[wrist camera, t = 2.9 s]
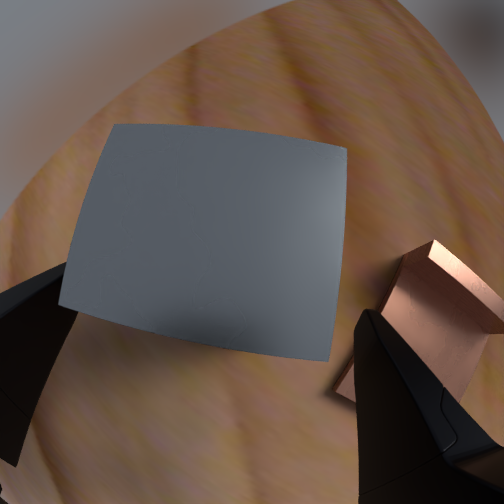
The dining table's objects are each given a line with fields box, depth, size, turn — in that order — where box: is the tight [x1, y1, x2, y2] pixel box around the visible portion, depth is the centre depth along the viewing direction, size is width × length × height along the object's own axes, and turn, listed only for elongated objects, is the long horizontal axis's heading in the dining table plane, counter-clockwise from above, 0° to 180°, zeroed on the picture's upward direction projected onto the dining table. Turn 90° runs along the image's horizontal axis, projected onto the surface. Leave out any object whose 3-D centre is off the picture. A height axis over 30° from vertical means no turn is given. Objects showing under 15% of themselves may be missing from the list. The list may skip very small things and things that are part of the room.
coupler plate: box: [332, 240, 504, 403], centre depth 14 cm, size 10×10×4 cm
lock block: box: [58, 124, 347, 362], centre depth 11 cm, size 4×5×12 cm
